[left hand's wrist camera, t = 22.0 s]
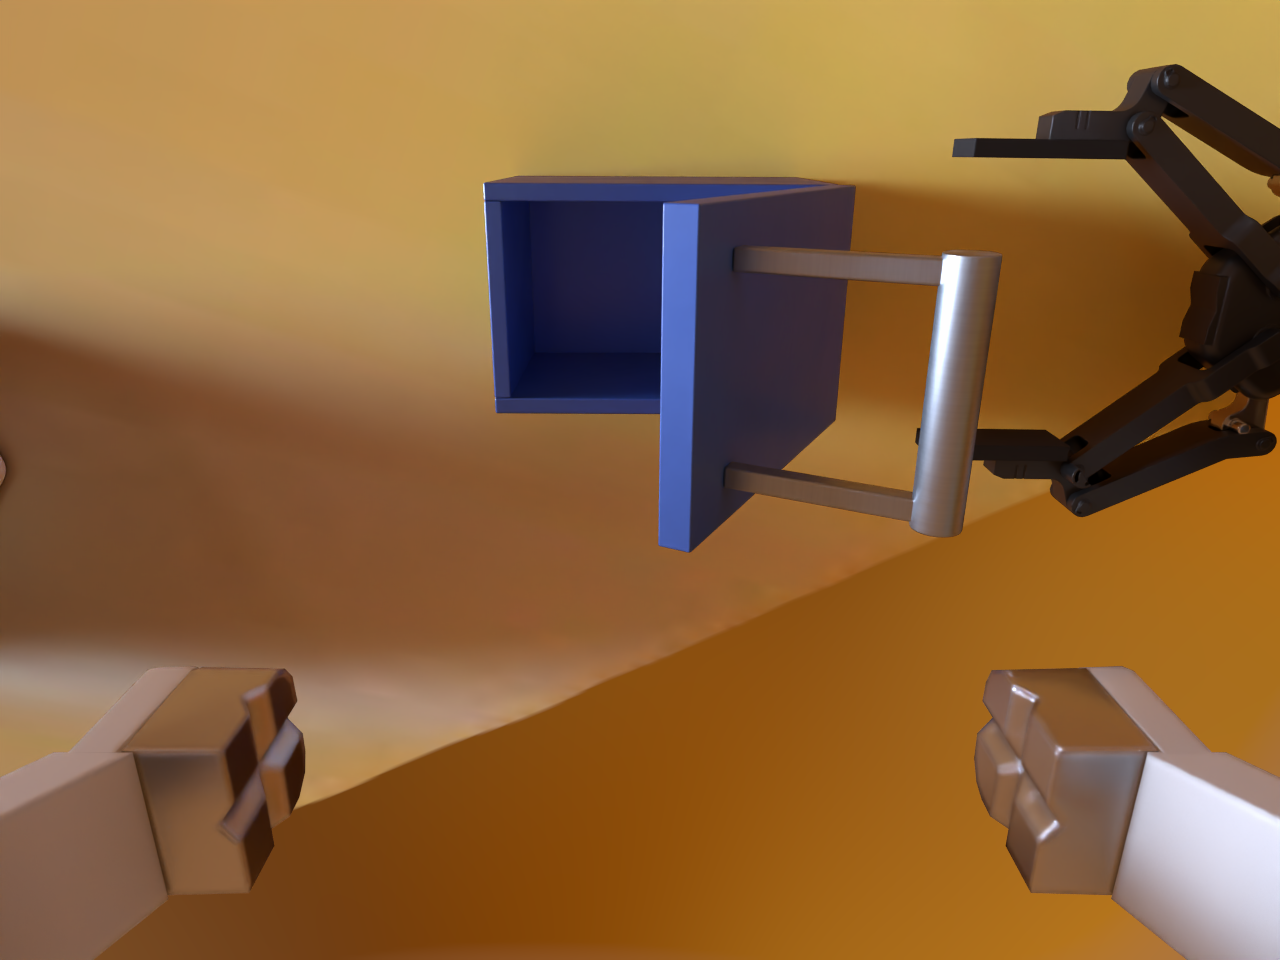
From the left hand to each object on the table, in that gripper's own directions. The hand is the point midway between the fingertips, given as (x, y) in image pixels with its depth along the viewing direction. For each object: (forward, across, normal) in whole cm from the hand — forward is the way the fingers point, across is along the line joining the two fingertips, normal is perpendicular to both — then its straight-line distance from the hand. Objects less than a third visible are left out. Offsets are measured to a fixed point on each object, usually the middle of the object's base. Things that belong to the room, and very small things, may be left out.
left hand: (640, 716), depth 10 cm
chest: (+40, -1, 0) cm, 40 cm away
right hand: (+32, -14, 0) cm, 35 cm away
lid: (+22, -4, 0) cm, 22 cm away
